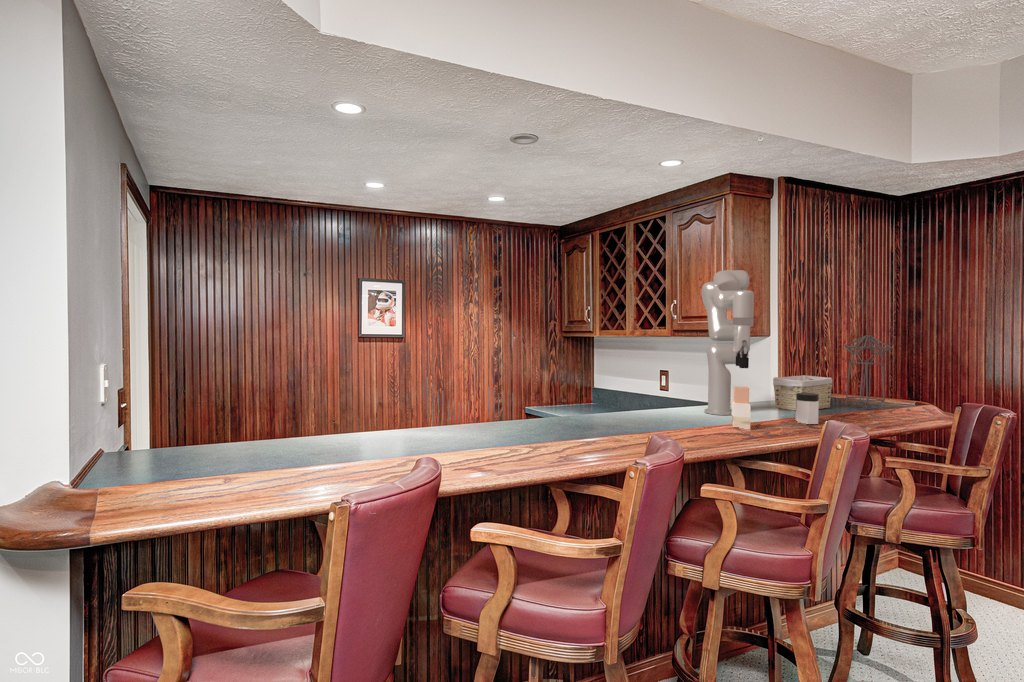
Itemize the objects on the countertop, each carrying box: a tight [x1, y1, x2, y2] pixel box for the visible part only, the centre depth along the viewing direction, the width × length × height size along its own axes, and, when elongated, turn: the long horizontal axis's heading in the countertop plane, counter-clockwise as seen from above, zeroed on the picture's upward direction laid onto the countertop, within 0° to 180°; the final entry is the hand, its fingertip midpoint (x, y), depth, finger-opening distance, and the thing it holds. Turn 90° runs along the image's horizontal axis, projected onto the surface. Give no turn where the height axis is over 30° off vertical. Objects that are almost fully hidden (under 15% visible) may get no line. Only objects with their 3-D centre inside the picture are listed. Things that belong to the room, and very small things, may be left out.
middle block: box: [731, 400, 752, 418], centre depth 223 cm, size 6×6×5 cm
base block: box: [731, 415, 751, 430], centre depth 223 cm, size 6×6×5 cm
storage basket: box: [772, 375, 833, 411], centre depth 275 cm, size 24×16×15 cm
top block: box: [732, 385, 750, 404], centre depth 223 cm, size 5×5×6 cm
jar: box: [795, 393, 820, 425], centre depth 235 cm, size 9×8×12 cm
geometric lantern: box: [843, 334, 893, 410], centre depth 274 cm, size 16×16×35 cm
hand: (741, 366), depth 222 cm, fingers open, 9 cm apart
